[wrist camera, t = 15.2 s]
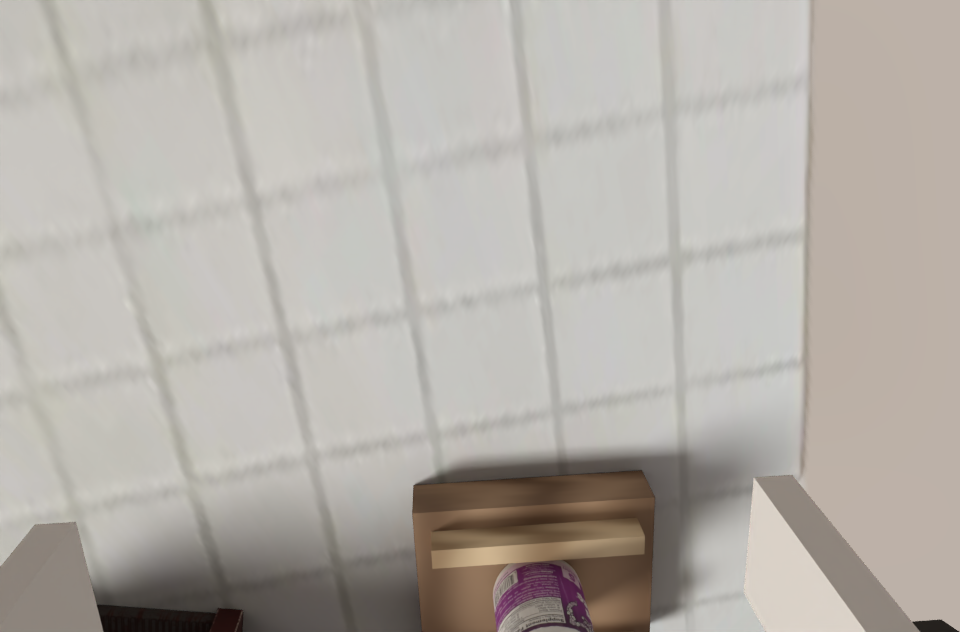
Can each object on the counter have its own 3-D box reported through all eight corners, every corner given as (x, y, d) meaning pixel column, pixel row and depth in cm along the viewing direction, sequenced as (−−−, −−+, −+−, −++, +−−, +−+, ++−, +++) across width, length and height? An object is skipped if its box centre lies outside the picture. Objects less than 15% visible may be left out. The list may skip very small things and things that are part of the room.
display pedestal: (426, 643, 52) (425, 701, 47) (413, 485, 48) (411, 532, 43) (636, 628, 52) (655, 684, 48) (641, 470, 48) (663, 515, 44)
